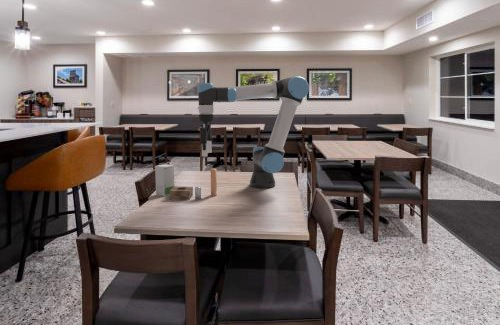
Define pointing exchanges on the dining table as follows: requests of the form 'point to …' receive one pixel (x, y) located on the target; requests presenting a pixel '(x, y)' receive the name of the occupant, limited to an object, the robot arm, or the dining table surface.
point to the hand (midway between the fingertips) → (206, 154)
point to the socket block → (181, 193)
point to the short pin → (197, 193)
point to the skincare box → (164, 179)
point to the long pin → (213, 182)
